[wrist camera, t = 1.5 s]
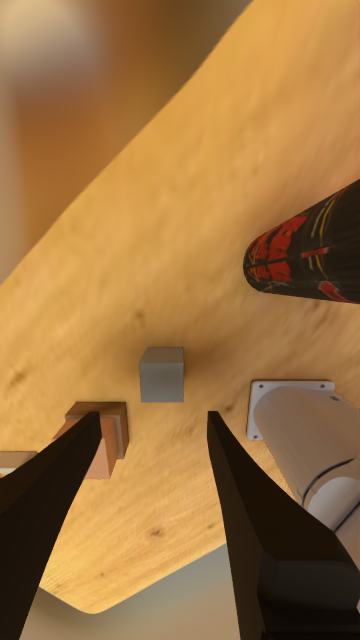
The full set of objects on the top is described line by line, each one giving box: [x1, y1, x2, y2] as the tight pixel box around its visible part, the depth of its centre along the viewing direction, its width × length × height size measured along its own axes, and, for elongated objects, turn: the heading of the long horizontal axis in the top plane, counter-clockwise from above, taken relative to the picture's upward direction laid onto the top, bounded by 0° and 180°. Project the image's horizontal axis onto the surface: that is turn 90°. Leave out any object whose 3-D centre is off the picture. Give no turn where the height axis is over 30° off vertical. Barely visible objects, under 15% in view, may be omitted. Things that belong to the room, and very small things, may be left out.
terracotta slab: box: [52, 418, 119, 479], centre depth 18 cm, size 5×5×2 cm
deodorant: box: [243, 179, 360, 304], centre depth 10 cm, size 6×6×15 cm
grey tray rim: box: [0, 452, 37, 474], centre depth 23 cm, size 10×15×2 cm
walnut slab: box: [65, 402, 129, 459], centre depth 20 cm, size 6×6×2 cm
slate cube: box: [139, 347, 184, 402], centre depth 18 cm, size 4×4×4 cm
